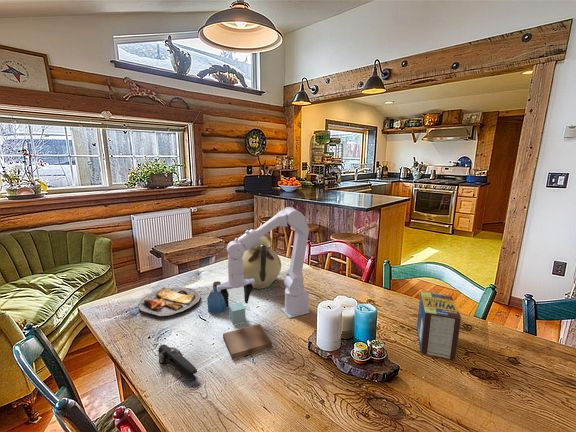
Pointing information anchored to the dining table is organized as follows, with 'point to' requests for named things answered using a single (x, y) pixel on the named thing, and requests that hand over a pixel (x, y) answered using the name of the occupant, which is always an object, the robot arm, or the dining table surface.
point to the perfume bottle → (216, 300)
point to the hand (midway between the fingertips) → (236, 304)
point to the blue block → (237, 313)
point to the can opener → (176, 361)
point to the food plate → (169, 300)
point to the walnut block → (246, 341)
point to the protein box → (438, 325)
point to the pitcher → (261, 263)
